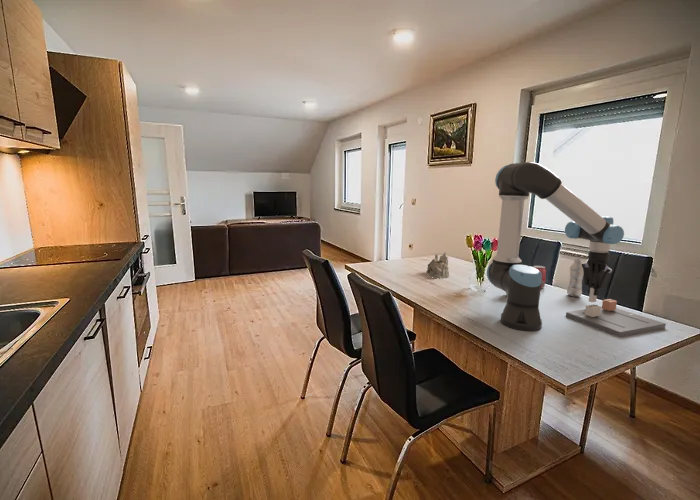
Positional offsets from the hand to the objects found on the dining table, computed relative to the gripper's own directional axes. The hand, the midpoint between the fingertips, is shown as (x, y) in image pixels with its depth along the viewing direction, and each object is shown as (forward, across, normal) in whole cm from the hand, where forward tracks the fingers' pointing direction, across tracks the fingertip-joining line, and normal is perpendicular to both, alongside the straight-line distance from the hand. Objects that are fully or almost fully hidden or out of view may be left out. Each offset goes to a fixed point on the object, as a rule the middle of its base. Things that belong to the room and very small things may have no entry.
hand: (592, 301), depth 157 cm
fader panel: (+4, -14, +7) cm, 17 cm away
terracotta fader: (+1, -7, 0) cm, 8 cm away
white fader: (+1, -10, +14) cm, 17 cm away
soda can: (+4, +34, -5) cm, 35 cm away
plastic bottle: (+4, +16, -10) cm, 20 cm away
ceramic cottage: (+4, +77, +33) cm, 84 cm away
